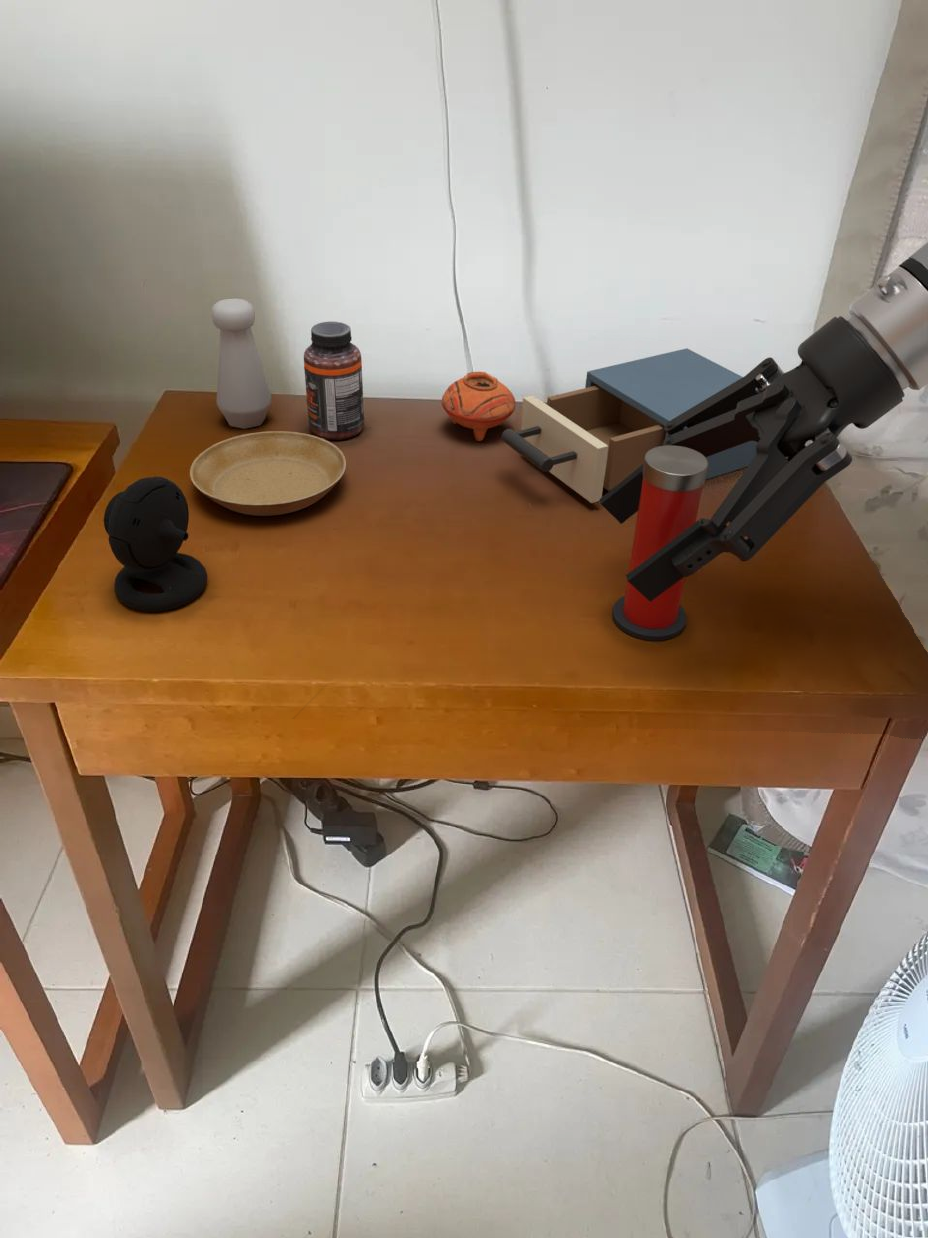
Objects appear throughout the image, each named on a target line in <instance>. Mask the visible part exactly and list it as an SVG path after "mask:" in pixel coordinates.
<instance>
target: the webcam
mask: <svg viewBox="0 0 928 1238" xmlns="http://www.w3.org/2000/svg"><path fill="white" fill-rule="evenodd" d="M189 512H190V511H189V504H188V500H187V498H186V496H185V494H184V492H183V491H182V489H181V488H180V487H179V486H178V485H177V484H176V483H175V482H174V481H172V480H170V479H168V478H166V477H162V476H150V477H149V476H148V477H143V478H139V479H137V480H136V481H134V482H133V483H131V484H130V485H128V486H127V487H126V489H124V491H123V490H122V491H120V492H118V493H116V494H115V495H114V496H113V497H112V498H111V499H110V500H109V502H108V503H107V505H106V507H105V511H104V513H103V527H104V530H105V532H106V534H107V535H108V543H109V547H110V549H111V552H112V554H113V555H114V557H115V559H116V560H117V561H118V563H120V564H121V565H122V566H123V567H122V568H121V569H119V571H118V573H117V574H116V576H115V579H114V584H113V587H114V590H113V591H114V594H115V596H116V597H117V599H118V600H119V601H120V602H121V603H122V604H123V605H125V606H127V607H129V608H130V609H133V610H136V611H141V612H166V611H169V610H174V609H177V608H179V607H181V606H184V605H186V604H189V603H190V602H192V601H194V600H195V599H197V598H198V597H199V596H200V595H201V593H203V591H204V590H205V588H206V585H207V582H208V573H207V569H206V567H205V566H204V565H203V563H202V562H201V561H200V560H199V559H197V558H195V557H193V556H192V555H189V554H186V553H181V552H179V550H180V549H181V547H182V545H183V542H186V541H188V539H189V533H188V528H189V527H188V526H189V521H190V519H189V518H190V516H189V515H190V513H189ZM137 579H140V580H144V581H147V582H150V583H153V584H154V585H156V586H158V587H160V588H161V589H162V591H163V592H159V593H147V592H141V591H139V590H136V589H135V588H134V587H133V584H134V583H135V581H137Z"/></svg>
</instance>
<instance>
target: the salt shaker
mask: <svg viewBox="0 0 928 1238" xmlns="http://www.w3.org/2000/svg"><path fill="white" fill-rule="evenodd" d="M254 307H255V306H254V305H253V304H251V303H250V302H249V301H247V299H242V298H225V299H222V300H218V301H217V302H215V304H214V305H213V306H212V309H211V319H212V324H213V325H214V327H216V328H217V329H218V330H219V347H218V348H219V349H218V352H219V353H218V370H217V371H218V372H217V387H216V406H217V409H218V410H219V411H220V413H221V414H222V415H223V416H224V418H225V420H226V421H227V423H228V425H229V427H234V428H239V429H244V430H246V429H251V428H255V427H259V426H261V425H262V424H263V423H264V421H265V419H266V417H267V414H268V412H269V410H270V407H271V403H272V393H271V391H270V387H269V384H268V380H267V377H266V374H265V371H264V366H263V364H262V360H261V357H260V354H259V351H258V347H257V344H256V339H255V336H254V334H253V331H252V327H253V326H255V322H256V311H255V308H254Z"/></svg>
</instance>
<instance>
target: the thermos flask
mask: <svg viewBox="0 0 928 1238" xmlns="http://www.w3.org/2000/svg"><path fill="white" fill-rule="evenodd" d="M707 469H708V460H707V459H706V457H705V456H704V455H702V454H701V453H699V452H697V451H695V450H693V449H690V448H686V447H682V446H672V445H669V446H659V447H655V448H653V449H651V450H649V451H648V452H647V453H646V455H645V460H644V466H643V482H642V488H641V495H640V501H639V508H638V511H637V515H636V522H635V527H634V534H633V541H632V548H631V553H630V561H629V568H628V573H629V572H631V571H632V570H633V569H635V568H636V567H637V566H639V565H640V564H641V563H643V562H644V561H645V560H647V559H648V558H649V557H651V556H652V555H653V554H655V553H656V552H657V551H658V550H660V549H661V548H662V547H664V546H665V545H666V544H668V543H669V542H670V541H672V540H673V539H674V538H676V537H677V536H678V535H680V534H681V533H682V532H684V531H685V530H686V529H688V528H689V527H690V526H691V525H693V524H694V523H695V522H697V517H698V512H699V508H700V503H701V497H702V491H703V487H704V484H705V483H706V480H707V479H706V474H707ZM685 579H686V577H683V578H682V579H681V580H679V581H678V582H677V583H675V584H674V585H673V586H671V587H670V588H669V589H667V590H666V591H664V592H663V593H662V594H660V595H659V596H658V597H656V598H655V599H654V600H652V601H651V602H650V601H649V600H647V599H646V598H645V597H644V596H643V595H642V594H641V593H640V592H639V591H638V590H637V589H636V588H635V587H633V586H632V585H631V584H630V583H629V582H628V580H627V579H626V587H625V594H624V596H625V599H624V606H623V613H624V615H625V617H626V618H627V619H628V620H629V621H630V622H632V623H633V624H635V625H637V626H640V627H643V628H648V629H661V628H666V627H668V626H670V625H672V624H673V623H674V622H675V621H676V619H677V615H678V610H679V605H680V606H681V599H682V594H683V590H684V584H685Z"/></svg>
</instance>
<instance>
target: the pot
mask: <svg viewBox="0 0 928 1238" xmlns="http://www.w3.org/2000/svg"><path fill="white" fill-rule="evenodd" d="M516 404H517V403H516V398H515V396H514V394H513V393H512V391H511V390H510V389H509V387H507V386H506V385H505V384H504V383H502V382H501V381H499V380H498V378H496V377H495V376H493V375H491V374H489V373H488V372H485V371H471V372H467V373H466V374H465V375H464V376H463V377H460V378H459V379H458V380H456V381H454V382H453V383H451V384H450V385H449V386H448V387H447V388H446V389H445V391H444V392H443V394H442V398H441V406H442V408H443V410H444V411H445V413H446V414H447V415H448V416H449V417H450V418H451V421H452V423H453V424H454V425H456V424H458V425H460V426H462V427H464V428H468V429H472V432H473V435H474V438H475V441H476V442H480V441H483V440H484V438H485V436H486V432H487V431H488V429H491V428H495V427H497V426H502V425H503V423H504V422H505V421H506V420H509V418H510V417H511V416H512V415H513V413H514V412H515V410H516V407H517V406H516Z"/></svg>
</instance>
